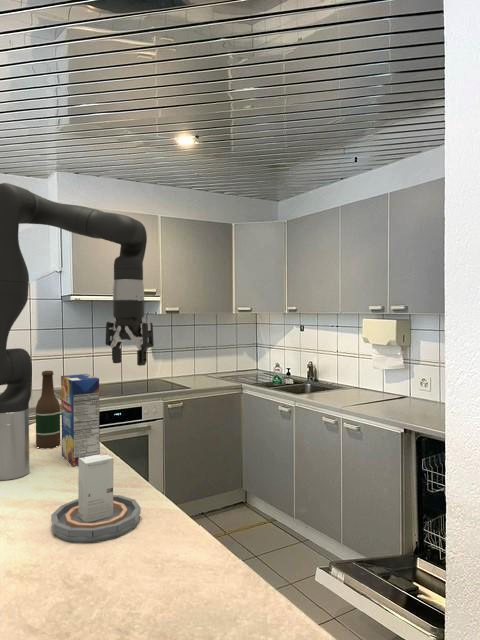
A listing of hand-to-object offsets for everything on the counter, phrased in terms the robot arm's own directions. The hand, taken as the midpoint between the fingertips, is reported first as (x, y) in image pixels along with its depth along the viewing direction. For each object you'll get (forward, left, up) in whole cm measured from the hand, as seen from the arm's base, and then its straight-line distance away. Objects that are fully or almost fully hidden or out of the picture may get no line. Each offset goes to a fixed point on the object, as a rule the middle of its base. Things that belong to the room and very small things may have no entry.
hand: (129, 364), depth 119 cm
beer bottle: (-47, +10, -30) cm, 57 cm away
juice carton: (-27, +7, -30) cm, 41 cm away
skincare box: (+10, -19, -29) cm, 36 cm away
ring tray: (+10, -19, -30) cm, 37 cm away
